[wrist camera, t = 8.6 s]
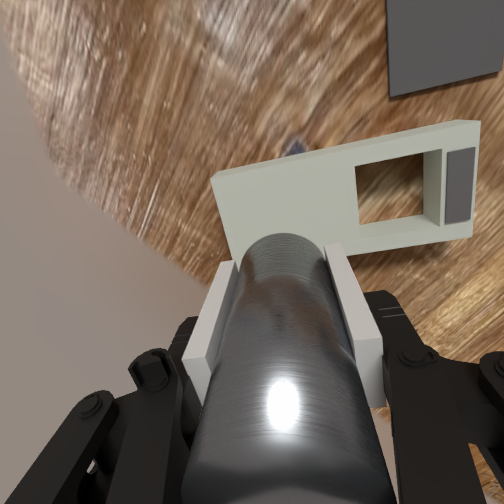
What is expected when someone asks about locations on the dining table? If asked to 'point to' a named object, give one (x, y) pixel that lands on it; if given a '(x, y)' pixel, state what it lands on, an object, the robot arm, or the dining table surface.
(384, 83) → the dining table surface
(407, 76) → the mat
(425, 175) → the slotted holder block
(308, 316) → the barrel peg
